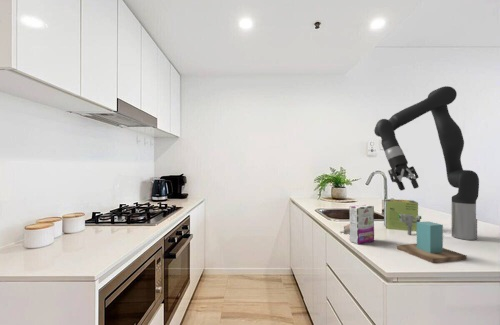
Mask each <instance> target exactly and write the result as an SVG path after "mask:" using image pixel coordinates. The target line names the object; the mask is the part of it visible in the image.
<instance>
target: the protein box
mask: <svg viewBox="0 0 500 325" xmlns="http://www.w3.org/2000/svg"><path fill="white" fill-rule="evenodd" d="M383 200H384V202H383V212H384V213H383V226H384V227H385V229H388V230H399V231H408V226H407V223H403V222H401V221H400V218H398V215H399V214H406V215H413V217H414V218H416V217H417V215H419V202H417V201H415V200H413V199H395V198H394V199H391V198H390V199H388V198H384V199H383ZM405 218H406V217H404V219H405ZM413 221H414V222H416V221H417V220H413ZM412 225H413V226H412V227H411V232H417V223H412Z"/></svg>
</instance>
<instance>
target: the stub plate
mask: <svg viewBox="0 0 500 325" xmlns="http://www.w3.org/2000/svg"><path fill="white" fill-rule="evenodd" d="M396 249H397V250H400V251H402V252H404V253H407V254H410V255H412V256H415V257H417V258H419V259H422V260H425V261H427V262H428V263H431V264H437V263H446V262H456V261H465V260H466V259H467V258H468V257H467V255H466V254H463V253H460V252H457V251H453V250H451V249H447V248H445V247H443V252H437V253H429V252H426V251H423V250H421V249H418V248H417V243H405V244H397V245H396Z"/></svg>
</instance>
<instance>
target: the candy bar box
mask: <svg viewBox="0 0 500 325" xmlns="http://www.w3.org/2000/svg"><path fill="white" fill-rule="evenodd" d="M374 208H375V207H374V205H370V204H359V205H352V206H351V205H350V206H349V224H350V235H349V242H350V243H353V244H357V245H363V244H367V243H372V242H374V241H375V210H374Z"/></svg>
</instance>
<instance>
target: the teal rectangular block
mask: <svg viewBox="0 0 500 325" xmlns="http://www.w3.org/2000/svg"><path fill="white" fill-rule="evenodd" d="M443 226H444V225H443V224H442V223H437V222H433V221H420V222H417V231H416V244H417V248H418V249H421V250H423V251H426V252H429V253H437V252H443V248H444V247H443V246H444V244H443V242H444V240H443V239H444V238H443V237H444V236H443V235H444V234H443V233H444V232H443V231H444V230H443V228H444V227H443Z"/></svg>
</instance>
